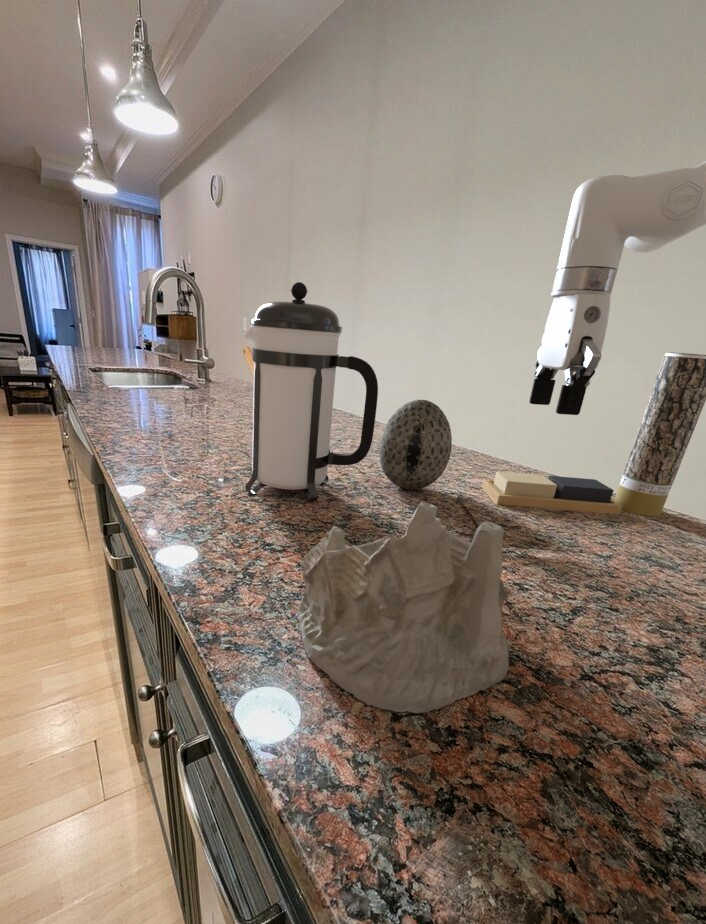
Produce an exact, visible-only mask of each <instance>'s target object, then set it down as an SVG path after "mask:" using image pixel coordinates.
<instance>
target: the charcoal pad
mask: <svg viewBox="0 0 706 924" xmlns="http://www.w3.org/2000/svg"><path fill="white" fill-rule="evenodd" d="M547 479H549V480H550V481H552V482H553V483H555V484H556V485H557V488H556V491H555V495H554V498H553V499H564V500H576V501H588V502H600V503H609V502H610V500H611V499H612V497H613V493H614V492H615V491H614V489H613V488H611V487H610V486H608V485H606V484H604V483H602V482H601V481H599V480H597V479H596V478H595V479H594V478H581V477H569V476H559V475H548V477H547Z"/></svg>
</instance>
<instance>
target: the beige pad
mask: <svg viewBox="0 0 706 924" xmlns="http://www.w3.org/2000/svg"><path fill="white" fill-rule="evenodd" d="M493 480H494V484H493V485H494V486H495V487H496V488H497V489H498V490H499V491H500V492H501V493H502V494H505V495H517V496H529V497H540V498H552V499H553V498H554V495H555V491H556V488H557V485H556V484H555V483H553V482H552V481H550V480H549V479H548V477H547V476H545V475H543V474H534V473H533V474H532V473H522V472H512V471H511V472H510V471H499V470H496V472H495V475H494V479H493Z"/></svg>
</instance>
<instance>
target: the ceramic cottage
mask: <svg viewBox="0 0 706 924" xmlns="http://www.w3.org/2000/svg"><path fill="white" fill-rule="evenodd" d="M437 511H438V507H437V506H436V505H434V504H432V503H427V502H424V501H420V503H419V504H418V505H417V507H416V509H415V510H414V511H413V514H412V516H411V519H410V520H409V522H408V524H407V527H406V530H405V533H404V535H402V536H401V537H395V536H394V535H393V534H392V533H390V534H388V535H385V536H383V537H381V538H379V539H376V540H375V541H369V542H367V543H363V544H358V545H355V544H352V545H351V546H350V545H348V544H346V540H345V539H346V538H345V536H346V532H344V531H343V530H342V529H341V528H340V527H339V526H333V527H332V528H331V529H330V530H329V531H327V532H326V533H325V535H324V537H322V538H320V540H319V542H318V543H316V545H314V546H313V548H310V549H309V551H308V552H307V553H306V554H305V555H304V556H303V557H302V559H301V560H300V563H299V566H300V568H301V569H302V571H303V579H304V594H303V596H302V597H301V600H300V602H299V604H298V608H297V616H296V617H297V620H298V624H299V625H298V628H299V631H300V632H301V642H302V647H303V649H304V650H305V653H306V655H307V657H308V658H309V660H311V662H312V663H314V665H315V666H316V667H318V670H321V671H322V672H324V673H325V674H327V675H328V677H329V679H330V681H333V682H334V684H336V685H338V686H339V687H340V688H341V689H342V690H344V691H345V692H346V693H349V694H352V695H353V698H356V699H357V700H359V701H361V702H363V703H365V705H366V706H372V707H375V708H378V709H381V710H387V711H392V712H395V713H396V712H398V713H404V712H409V713H412V714H423V713H429V712H431V711H433V710H436V711H438V710H439V709H441V708H443V707H444V706H450V705H452V704H453V703H454V702H455V701H457V700H458V701H460V700H461V699H466V698H468V697H470V696H473V695H475V694H477V693H478V692H479V691H484V690H486V689H489V688H491V687H494V685H496V684H498V683H501V682H502V681H503V680H504V679H505V678H506V677H507V673H508V671H509V670H510V662H509V661H510V660H509V655H510V652H509V647H508V642H507V641H508V640H507V637H506V635H505V634H504V632H503V630H502V629H503V617H504V615H505V614H504V611H503V609H502V608H503V603H504V602H505V601H506V600H507V599H508V598H509V597H511V596H512V595H511V594H510V593H508V590H507V589H506V588H505V585H504V581H503V580H502V579H501V577H502V573H503V558H502V557H503V555H502V553H503V552H502V551H503V545H504V543H503V541H504V535H505V529H504V528H503V527H502V526H500V525H499V524H496V523H494V522H492V521H483V522H482V523H481V524H480V525H479V526H478V527H477V528H476V530H475V532H474V534H473V538H472V540H471V541H468V540H465V539H464V538H462V537H460V536H457V535H455V534H454V533H452V532H450V531H448V530H447V527H446V525H442V520H440V519H439V518H438V517H437Z"/></svg>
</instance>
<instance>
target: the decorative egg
mask: <svg viewBox="0 0 706 924" xmlns="http://www.w3.org/2000/svg"><path fill="white" fill-rule="evenodd" d="M452 445H453V438H452V430H451V425H450V422H449V420H448V418H447V416H446V415H445V413H444V411H443V410H442V409H441V408H440V407H439V406H438V405H437V404H435V403H434V402H432V401H430V400H427V399H415V400H412V401H409V402H407V403H405V404H403V405H401V407H399V408H398V409H397V410H395V412H393V414H392V415H391V416H390V418H389V419H388V421H387V423H386V425H385V427H384V429H383V432H382V435H381V437H380V442H379V447H378V456H379V463H380V467H381V470H382V472H383V473H384V475H385V477H386V478H387V479H388V480H389V481H390V482H391V483H392V484H394V485H395V486H397V487H399V488H401V489H404V490H411V491H413V490H421V489H425V488H426V487H429V486H431V485H432V484H433V483H435V482H437V480H438V479H439V478H440V477H441V476H442V475H443V474H444V472H445V470H446V468H447V466H448V464H449V461H450V458H451V453H452Z"/></svg>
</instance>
